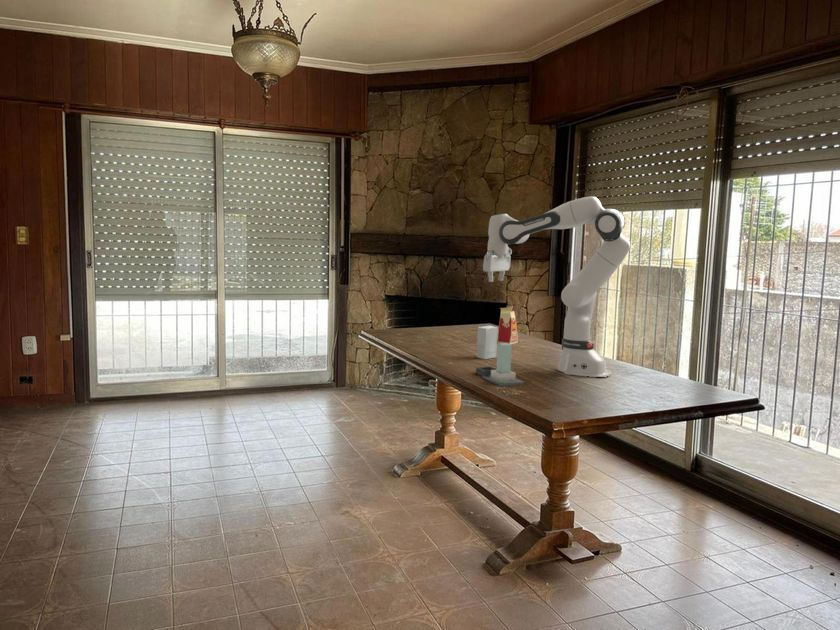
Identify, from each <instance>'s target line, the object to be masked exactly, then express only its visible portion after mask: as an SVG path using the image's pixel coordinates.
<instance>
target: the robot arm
mask: <svg viewBox="0 0 840 630" xmlns="http://www.w3.org/2000/svg"><path fill="white" fill-rule="evenodd" d="M587 224H593V225H594V229H595V230H596V232H597V233H598V235H599V236H600V238H601V239H602V240H603V241H602V244H600V246H599V247H598V248H597V250H596V252H595V253H594V254H593V255H592V257H591V258H590V259H589V260H588V261H587V263H586V264H585V265H584V266H583V268H582V269H581V270H580V271H579V272H578V273H577V274H575V276H574V277H573V278H572V279H571V280H570V281H569V282H568V283H567V284H566V286H564V288H563V289H562V291H561V295H560V299H561V302H562V303H563V304H564V305H565V306H567V307H568V308H567V313H566V314H565V315H566V316H565V318H564V325H563V327H564V328H563V337H562V339H561V356H560V357H561V358H560V360H559V364H558V366H557V371H559V372H561V373H563V374H565V375H570V376H571V375H572V376H578V377H579V376H580V377H587V376H589V377H590V378H596V377H605V378H608V377H611V375H612V371H611V370H609V369H607V363H606V359H605V358H604V357H603V356H602V355H601V354H600V353H599V352H597V351H596V350H595V349H594V347H595V346H594V345H595V344H596V342H595V341H592V340H591V338H590V337H591V326H592V325H591V324H592V320H593V319H592V317H593V314H594V309H595V304H596V299H597V296H598V290H600V288H601V287H603V285H605V283H607V281H609V280H610V278H611V277H612V275H613V274H614V273H615V272H616V271H617V269H618V268H619V266H620V265H621V264H622V262H623V261H625V259H626V257H627V255H628V253H629V251H630V249H631V242H630V241H629V239H628V238H627V237H626V236H624V234H623V229H624V228H625V226H626V218H625V215H624V214H623V212H621V211H619V210H618V209H616V208H610V207H603V206H602V202H601V201H600V200H599V199H598V198H597V197H596V196H593V195H592V196H586V197H585V196H584V197H581V198H577V199H573V200H570V201H567V202H564V203H562V204H560V205H559V206H556V207H555V208H552V209H550V210H548V211H547V212H545V213H542V214H539V215H536V216H533V217H530V218H527V219H523V220H517V219H515V218H513V217H512V216H510V215H509V214H508V213H505V212H503V213H496V214H492V215H491V216H490V218H489V221H488V231H487V232H488V233H487V234H488V241H487V252H486V253H485V254H484V257H483V265H482V270H483V272H485V273H486V272H487V276H488V282H489V283H492V282H494V281H495V277H494V275H493V274H494V272H499V276H498V279H497V280H498V281H499V282H501V281H502V282H503V281H504V276H505V274H506V271H509V270H510V268H511V261H512V260H511V257H512V256H511V255H512V252H513V250H512V249H511V248H510V247H509V246H508V245H513V244H517V245H518V244H523V243H524V242H526V241H528V239H529V238H530V235H531V234H534V233H537V232H541V231H544V230H566V229H573V228H576V227H580V226H582V225H587ZM607 376H608V377H607Z"/></svg>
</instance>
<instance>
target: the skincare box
mask: <svg viewBox="0 0 840 630" xmlns="http://www.w3.org/2000/svg"><path fill="white" fill-rule="evenodd" d="M498 331H499V326H493V325H489V324H488V325H482V326H477V332H476V333H477V336H476V358H479V359H482V360H489V359H494V358H497V349H498V343H497V342H498Z"/></svg>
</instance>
